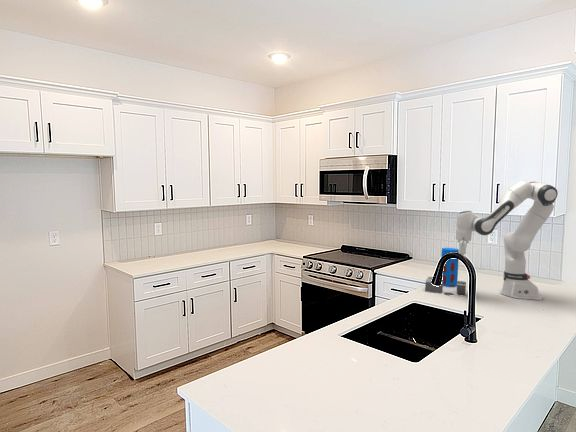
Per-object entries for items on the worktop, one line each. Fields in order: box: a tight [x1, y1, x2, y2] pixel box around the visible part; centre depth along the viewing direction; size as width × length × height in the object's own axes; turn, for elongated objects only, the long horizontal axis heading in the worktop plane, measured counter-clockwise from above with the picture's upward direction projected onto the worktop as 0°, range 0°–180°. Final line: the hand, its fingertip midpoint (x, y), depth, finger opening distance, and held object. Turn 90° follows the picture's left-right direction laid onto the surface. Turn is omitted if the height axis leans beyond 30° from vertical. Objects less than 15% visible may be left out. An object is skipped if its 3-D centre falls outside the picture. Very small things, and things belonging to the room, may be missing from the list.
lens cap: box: [443, 291, 454, 296], centre depth 245 cm, size 6×6×1 cm
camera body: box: [424, 276, 444, 294], centre depth 253 cm, size 10×9×8 cm
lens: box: [456, 280, 467, 296], centre depth 244 cm, size 5×5×8 cm
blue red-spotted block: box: [440, 247, 460, 288], centre depth 267 cm, size 11×11×25 cm
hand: (461, 259), depth 244 cm, fingers open, 8 cm apart
